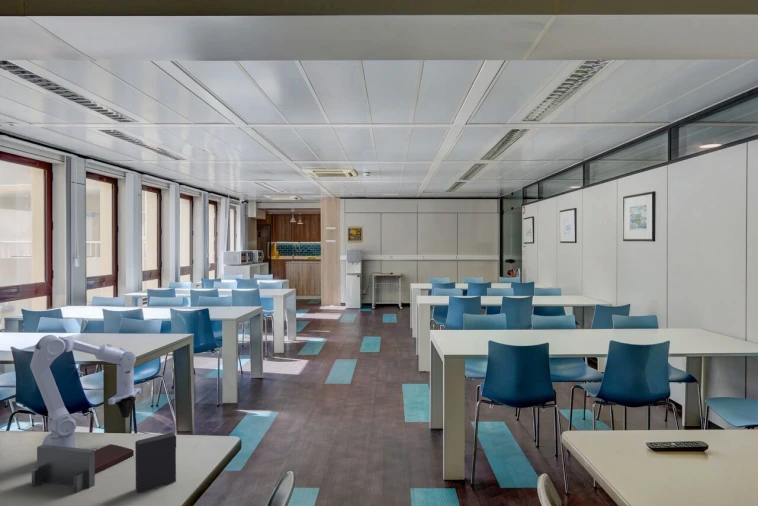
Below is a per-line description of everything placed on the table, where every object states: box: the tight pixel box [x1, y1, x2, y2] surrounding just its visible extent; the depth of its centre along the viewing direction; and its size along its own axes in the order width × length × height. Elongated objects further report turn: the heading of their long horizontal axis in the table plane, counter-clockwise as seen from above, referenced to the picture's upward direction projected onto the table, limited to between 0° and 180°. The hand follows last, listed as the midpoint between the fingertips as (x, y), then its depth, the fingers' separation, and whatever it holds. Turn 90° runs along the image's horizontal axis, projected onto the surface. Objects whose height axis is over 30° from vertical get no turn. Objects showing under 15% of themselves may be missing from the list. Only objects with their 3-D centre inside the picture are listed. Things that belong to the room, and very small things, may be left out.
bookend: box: [31, 444, 96, 493], centre depth 142 cm, size 20×5×11 cm, turn 77°
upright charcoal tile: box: [134, 432, 177, 494], centre depth 142 cm, size 11×4×15 cm, turn 128°
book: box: [94, 443, 135, 475], centre depth 156 cm, size 12×19×3 cm, turn 158°
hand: (125, 417), depth 176 cm, fingers closed
